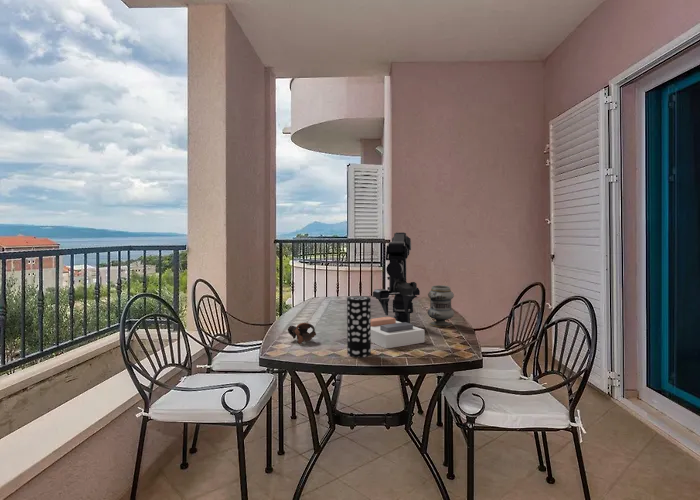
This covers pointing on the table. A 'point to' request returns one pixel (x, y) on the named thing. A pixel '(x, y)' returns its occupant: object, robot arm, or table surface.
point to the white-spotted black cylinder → (358, 326)
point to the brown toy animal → (302, 332)
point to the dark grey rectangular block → (396, 327)
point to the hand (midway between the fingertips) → (396, 314)
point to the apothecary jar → (440, 305)
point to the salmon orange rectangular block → (382, 321)
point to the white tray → (396, 337)
